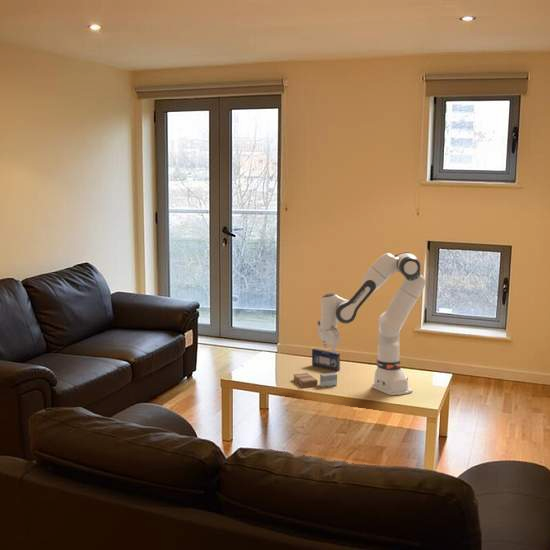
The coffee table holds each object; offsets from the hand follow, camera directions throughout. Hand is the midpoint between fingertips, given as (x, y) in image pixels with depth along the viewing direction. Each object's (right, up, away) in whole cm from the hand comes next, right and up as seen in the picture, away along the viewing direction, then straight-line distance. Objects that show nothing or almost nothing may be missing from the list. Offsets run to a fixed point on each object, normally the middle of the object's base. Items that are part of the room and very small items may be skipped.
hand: (328, 349), depth 358 cm
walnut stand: (-12, -18, +7) cm, 23 cm away
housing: (0, -19, +3) cm, 19 cm away
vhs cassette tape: (+1, -15, +34) cm, 37 cm away
